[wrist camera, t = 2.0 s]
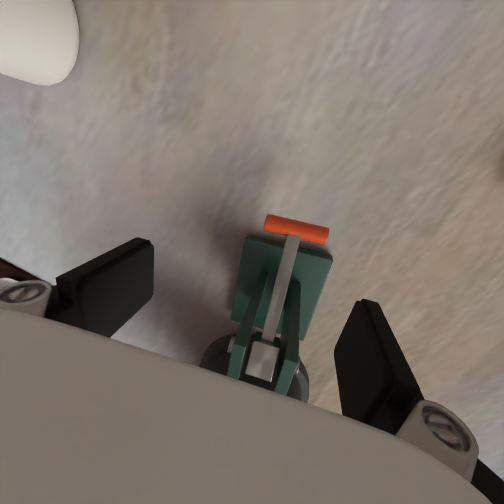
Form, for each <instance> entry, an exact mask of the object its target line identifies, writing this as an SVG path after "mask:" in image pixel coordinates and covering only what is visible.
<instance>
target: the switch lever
mask: <svg viewBox="0 0 504 504" xmlns="http://www.w3.org/2000/svg"><path fill="white" fill-rule="evenodd" d="M264 231H268V232H272V233H276V234H281V235H285V236H287V238H286V242H285V246H284V250H283V254H282V257H281V261H280V265H279V269H278V273H277V277H276V281H275V285H274V289H273V293H272V296H271V300H270V304H269V308H268V312H267V316H266V320H265V324H264V328H263V332H262V333H261V332H256V334H255V337H254V340H253V344H252V348H251V352H250V356H249V360H248V363H247V367H246V371H245V374H248V375H251V376H254V377H257V378H261V379H264V380H267V381H270V382H271V381H272V377H273V374H274V370H275V366H276V362H277V358H278V354H279V350H280V338H278V337H275V335H276V332H277V328H278V324H279V320H280V316H281V312H282V308H283V304H284V300H285V297H286V293H287V289H288V285H289V281H290V277H291V273H292V269H293V266H294V262H295V258H296V254H297V250H298V246H299V242H300V239H301V240H305V241H309V242H313V243H318V244H322V245H324V244H325V243H326V241H327V238H328V234H329V228H326V227H322V226H318V225H313V224H309V223H305V222H301V221H296V220H292V219H288V218H283V217H279V216H275V215H271V214H267V216H266V220H265V224H264Z"/></svg>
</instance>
